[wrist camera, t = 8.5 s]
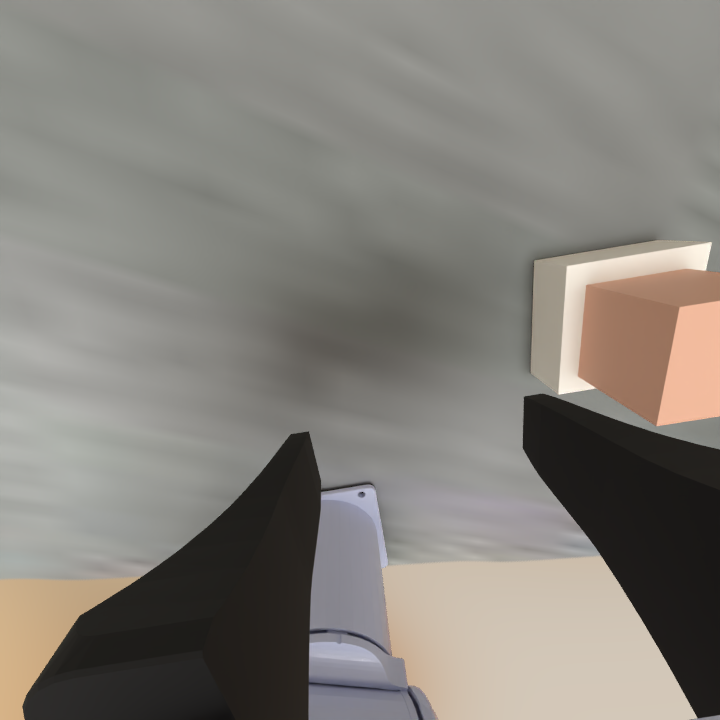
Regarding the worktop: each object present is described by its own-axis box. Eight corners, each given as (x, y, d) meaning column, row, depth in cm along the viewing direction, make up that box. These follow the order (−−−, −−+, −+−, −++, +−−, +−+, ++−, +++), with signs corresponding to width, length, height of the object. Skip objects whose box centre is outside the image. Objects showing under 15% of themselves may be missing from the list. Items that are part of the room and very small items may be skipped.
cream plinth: (530, 373, 22) (558, 394, 19) (534, 260, 19) (566, 266, 16) (639, 355, 22) (683, 374, 19) (657, 239, 19) (711, 242, 16)
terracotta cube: (577, 376, 19) (656, 426, 14) (586, 284, 17) (679, 307, 12) (669, 361, 19) (777, 407, 14) (687, 268, 17) (819, 284, 12)
